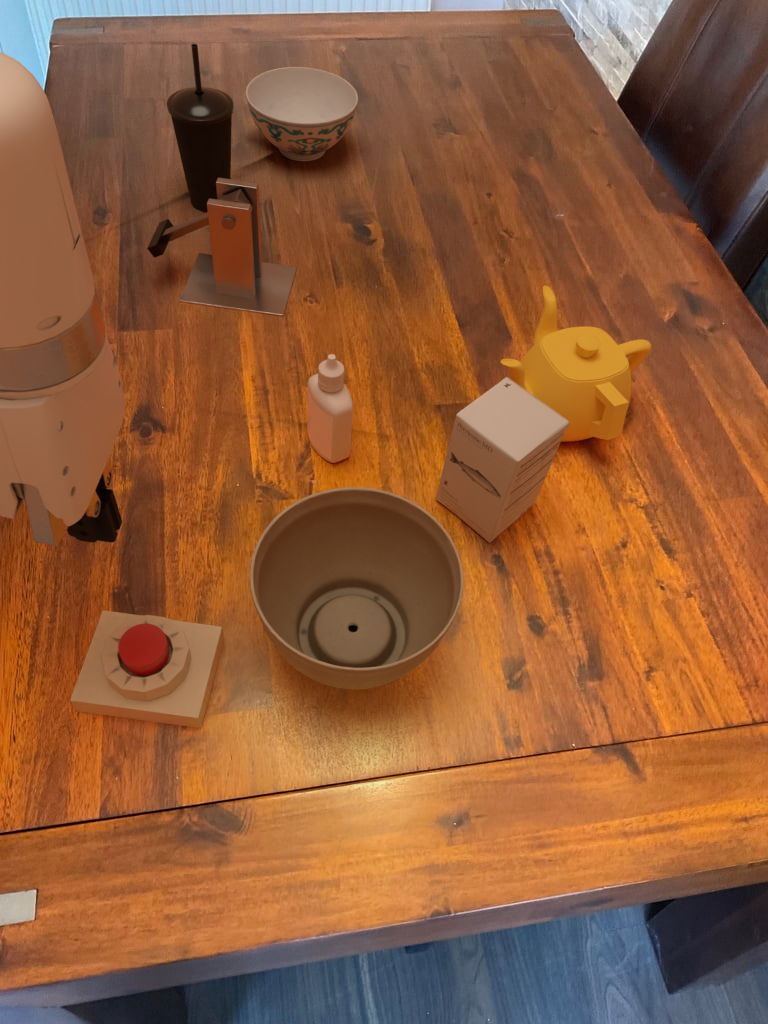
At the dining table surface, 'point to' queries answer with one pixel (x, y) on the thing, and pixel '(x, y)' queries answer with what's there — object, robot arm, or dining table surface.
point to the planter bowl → (355, 586)
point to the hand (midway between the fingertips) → (96, 530)
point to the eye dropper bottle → (329, 411)
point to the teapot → (579, 374)
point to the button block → (158, 695)
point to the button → (144, 649)
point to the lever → (186, 226)
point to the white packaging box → (499, 457)
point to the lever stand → (237, 259)
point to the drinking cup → (202, 136)
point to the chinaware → (301, 109)
